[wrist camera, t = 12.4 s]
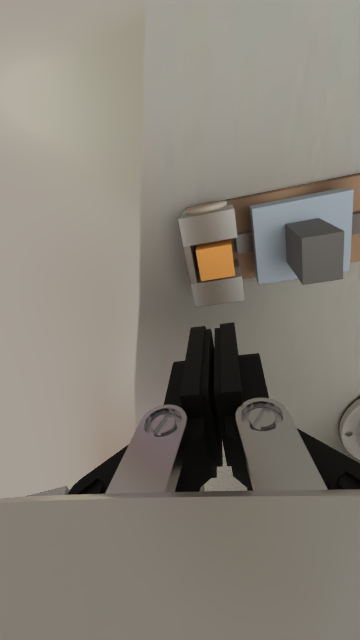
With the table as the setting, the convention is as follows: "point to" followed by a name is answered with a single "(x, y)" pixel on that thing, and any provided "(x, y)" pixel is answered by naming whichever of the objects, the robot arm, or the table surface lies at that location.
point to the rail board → (245, 235)
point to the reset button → (215, 260)
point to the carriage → (303, 237)
